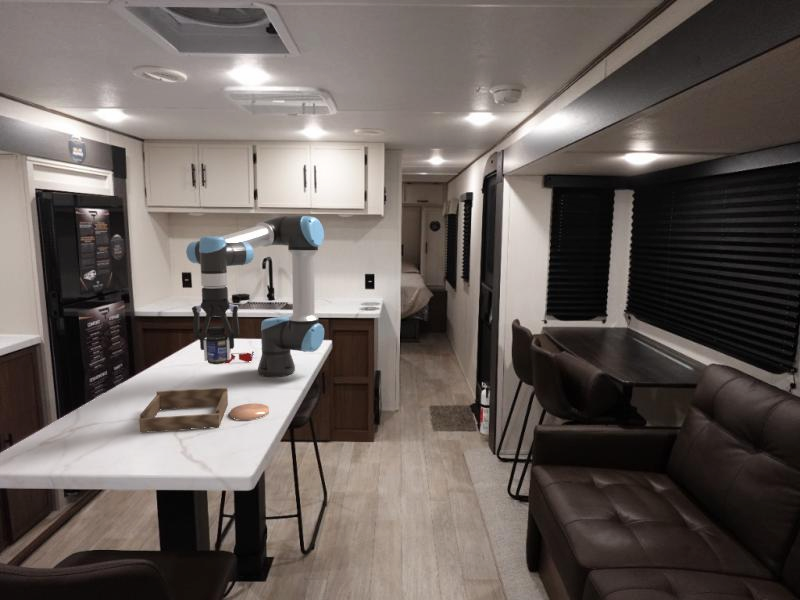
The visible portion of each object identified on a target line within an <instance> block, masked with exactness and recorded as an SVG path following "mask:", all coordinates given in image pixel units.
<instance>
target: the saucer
mask: <svg viewBox="0 0 800 600" xmlns="http://www.w3.org/2000/svg"><path fill="white" fill-rule="evenodd" d="M229 411H230V412H229V413H230V418H231V417H232V418H231V419H233V418H235V419H234V420H236V419H240V420H239V421H251V420H250V419H255V420H257V419H256V418H259V419H261V418H260V417H262V418H264V417H266V416H267V414H268V415H269V414H270V413H269V412H270V407H269V406H268V405H267V404H263V403H256V402H255V403H246V404H245V403H244V404H240V405H237V406H234V407H233V408H231V410H229ZM265 415H266V416H265ZM263 416H264V417H263Z"/></svg>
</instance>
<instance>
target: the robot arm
mask: <svg viewBox="0 0 800 600" xmlns="http://www.w3.org/2000/svg"><path fill="white" fill-rule="evenodd" d="M324 238H325V232H324V227H323V225H322V223H321V222H320V220H319V219H318V218H316V217H314V216H309V215H300V216H299V215H298V216H297V215H295V216H294V215H293V216H292V215H291V216H284V215H283V216H277V217H274V218H270V219H267V220H264V221H260V222H258V223H256V224H255V225H254V226H253V227H249V228H246V229H242V230H239V231H236V232H232V233H229V234H225V235H222V236H201V237H200V239H199V240H197V241H192V242H190V243H188V245H187V247H186V249H185V252H186V253H185V254H186V257H187V259H188V260H189V262H190V263H193V264H197V265H198V264H199V265H200V284H201V286H202V287H201V300H202V301H201V303H200V305H199V304H198V305H194V306H193V307H191V310H192V314H193V328H192V329H193V332H192V333H193V338H194V339H197V340H199V344H200V345H199V347H200V350H201V351H203V356H204V357H203V358H204V362H208V359H207V338H206V336H207V332H208V330H209V326H210V322H211V319H212V318H213V317H217V318H220V319H221V321H222V324H223V327H224V330H225V332H226V335H227V360H230V359H231V353H232V350H233V349H234V348H235V338H238V337H239V336H240V334H241V332H240V325H239V324H240V322H239V315H238V312H239V305H238V304H236V305H235V304H231V303H230V301H229V295H228V294H229V292H228V287H227V285H228V273H227V272H228V267H232V266H233V267H234V266H244V265H248V264H251V262H252V261H253V259H254V256H255V252H254V249H257V248H259V247H266V248H267V247H270V246H285V247H287V249H288V252H289V253H290V254H291V258H292V260H291V261H292V270H291V271H292V314H291V316H278V317H271V318H266V319H264V320H262V321H261V329H260V333H261V334H260V336H261V357H260V360H259V364H258V367H257V374H258V373H259V374H260V375H259V374H258V375H259V376H262V375H263V376H262V377H267V376H279V377H283V376H282V375H286V376H289V375H288V374H290V375H292V374H294V373H295V372H296V364H295V363H294V359H293V356H292V354H291V353H292V352H291V351H300V352H304V353H306V352H308V353H309V352H310V353H314V352H316V351H318V350H319V348H320V347H321V346H322V344H323V341H324V338H325V328H324V326H323V324H321V323H319V317H318V316H317V315H316V314H315V255H316V253H318V252H319V248H320V246H322V244H323V242H324V240H325V239H324ZM229 309H230V312H231V314H232V315H231V316H232V324H233V329H232V327H231V324H230V322H229V319H228V316H227V313H226V312H227V311H228V310H229ZM202 310H203V311H204V312H205V317H204V318H205V319H204V320H203V321H204V322H203V325H202V328H201V332H200V319H201V318H200V316H201V315H200V313H201V312H202ZM294 371H295V372H294ZM293 372H294V373H293ZM291 373H292V374H291Z"/></svg>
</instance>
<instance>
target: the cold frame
mask: <svg viewBox="0 0 800 600" xmlns="http://www.w3.org/2000/svg"><path fill="white" fill-rule="evenodd" d="M228 398H229V396H228V387H212V388H191V389H189V388H188V389H174V390H173V389H172V390H156V394H155V396H154V398H153V399H152V400H151V401H150V402H149V404H148V405H147V406H146V407H145V408H144V410H142V412H141V413H140V414H139V419H138V423H139V433H140V432H142V433H148V432H147V431H157V432H166V431H165V430H171V431H181V430H180V429H186V430H192V429H191V428H200V429H205V428H204V427H215V428H220V427H219V426H221V423H222V422H221V421H223V419H224V416H225V414H224V413H226V410H227V408H228V405H229V400H228ZM204 407H206V408H207V407H216V408H215V413H204V414H201V413H200V414H189V415H172V416H171V415H169V416H157V415H158V414H159V412H160V411H161V410H172V409H173V408H176V409H189V408H191V409H192V408H193V409H194V408H204ZM160 409H161V410H160ZM157 413H158V414H157Z"/></svg>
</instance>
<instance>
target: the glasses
mask: <svg viewBox="0 0 800 600" xmlns="http://www.w3.org/2000/svg"><path fill="white" fill-rule="evenodd" d="M253 353H254V354H255V352H254V351H251V352H245V353H243V352H237V353H236V352H235V353H234V352H233V353H232V352H231V359H230V360H228V361H227V362H225V363H224V364H226V363H229V364H230V362H232V360H233V361H234V360H235V358H236V357H237V356H235V355H238V359H239V361H243V362H247V363H250V362H249V361H251V362H252V360H253V358H254V357H253V355H254V354H253Z"/></svg>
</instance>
